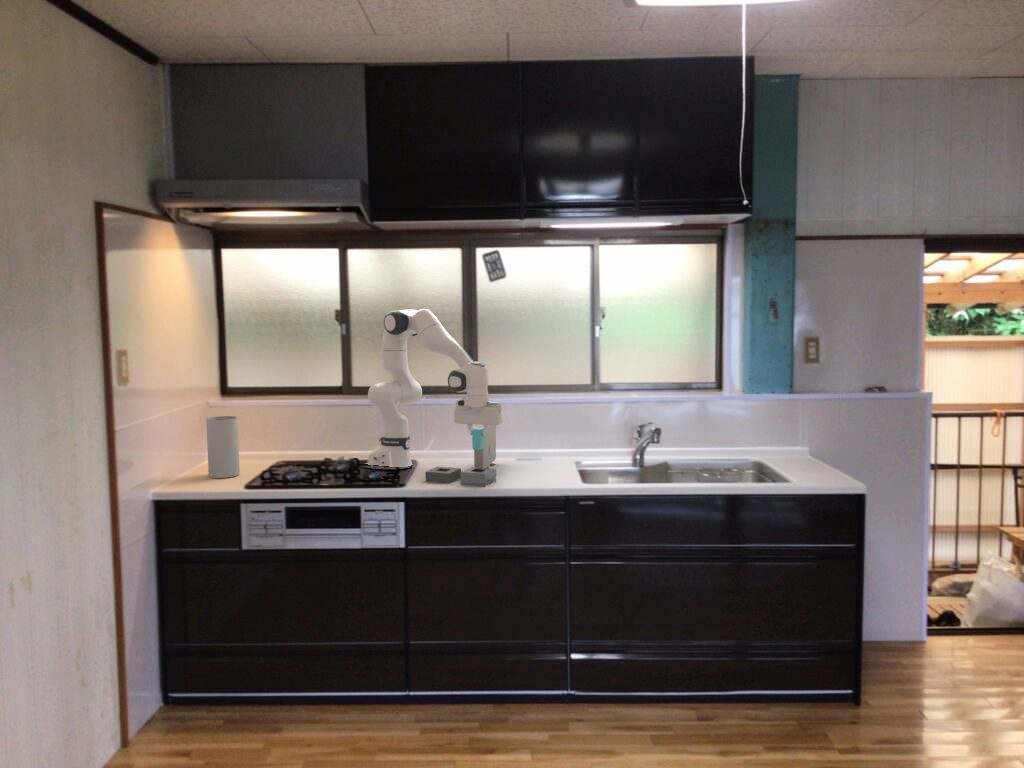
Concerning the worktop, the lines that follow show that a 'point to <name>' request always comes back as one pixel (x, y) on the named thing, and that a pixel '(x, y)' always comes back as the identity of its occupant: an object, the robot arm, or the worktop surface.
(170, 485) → the worktop surface
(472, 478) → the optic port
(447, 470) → the holster
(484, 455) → the network device
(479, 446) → the plug
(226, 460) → the cylinder vase
